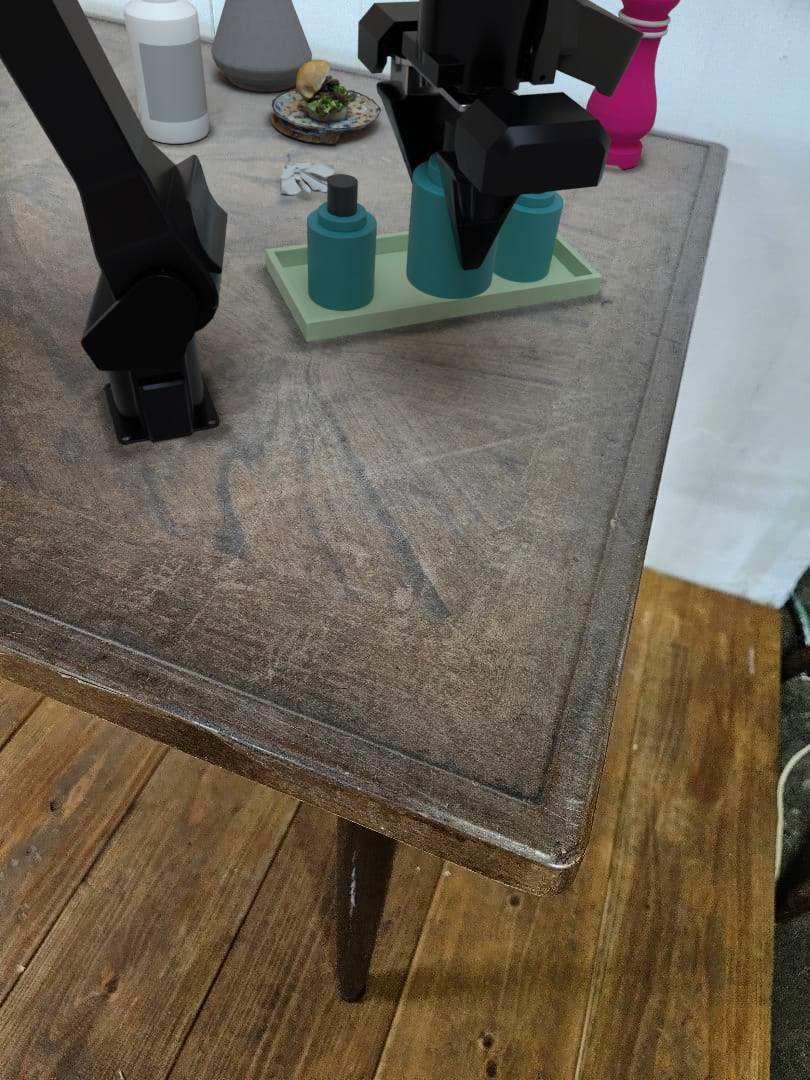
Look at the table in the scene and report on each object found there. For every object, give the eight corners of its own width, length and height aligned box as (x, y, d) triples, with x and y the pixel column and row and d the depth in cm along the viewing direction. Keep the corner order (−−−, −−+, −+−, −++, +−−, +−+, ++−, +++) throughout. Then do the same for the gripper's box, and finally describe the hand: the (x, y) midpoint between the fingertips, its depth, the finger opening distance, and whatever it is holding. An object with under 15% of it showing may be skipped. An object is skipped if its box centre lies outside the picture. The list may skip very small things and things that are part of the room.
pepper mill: (562, 151, 89) (608, -76, 74) (608, 139, 92) (661, -81, 77) (610, 177, 85) (669, -56, 70) (656, 163, 88) (722, -62, 74)
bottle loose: (393, 260, 51) (402, 104, 44) (471, 250, 52) (490, 98, 45) (424, 304, 47) (439, 144, 41) (505, 293, 49) (532, 135, 42)
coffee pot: (310, 64, 102) (308, -85, 91) (314, 100, 94) (312, -60, 83) (132, 58, 99) (107, -97, 88) (120, 94, 91) (92, -72, 80)
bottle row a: (478, 255, 71) (493, 149, 65) (531, 248, 73) (551, 143, 66) (505, 286, 68) (524, 177, 61) (559, 278, 70) (584, 170, 63)
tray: (266, 271, 68) (264, 248, 66) (534, 234, 75) (538, 213, 74) (306, 346, 61) (306, 323, 60) (597, 298, 69) (603, 276, 67)
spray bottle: (179, 151, 82) (150, -69, 69) (128, 132, 84) (91, -84, 71) (223, 130, 86) (204, -81, 73) (173, 113, 89) (147, -95, 75)
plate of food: (346, 155, 84) (347, 76, 79) (249, 127, 87) (244, 49, 82) (399, 119, 92) (404, 44, 86) (308, 94, 95) (307, 20, 89)
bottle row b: (300, 281, 66) (296, 168, 60) (360, 272, 68) (364, 162, 61) (320, 315, 63) (319, 200, 57) (383, 305, 65) (389, 192, 58)
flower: (369, 197, 81) (374, 170, 78) (319, 226, 76) (323, 199, 74) (309, 161, 82) (312, 135, 80) (256, 188, 77) (258, 160, 75)
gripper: (764, -30, 33) (653, 311, 45) (552, -124, 45) (507, 166, 56) (517, -23, 30) (466, 341, 42) (357, -126, 42) (352, 181, 53)
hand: (451, 245), depth 48 cm, fingers closed on bottle loose, 5 cm apart
